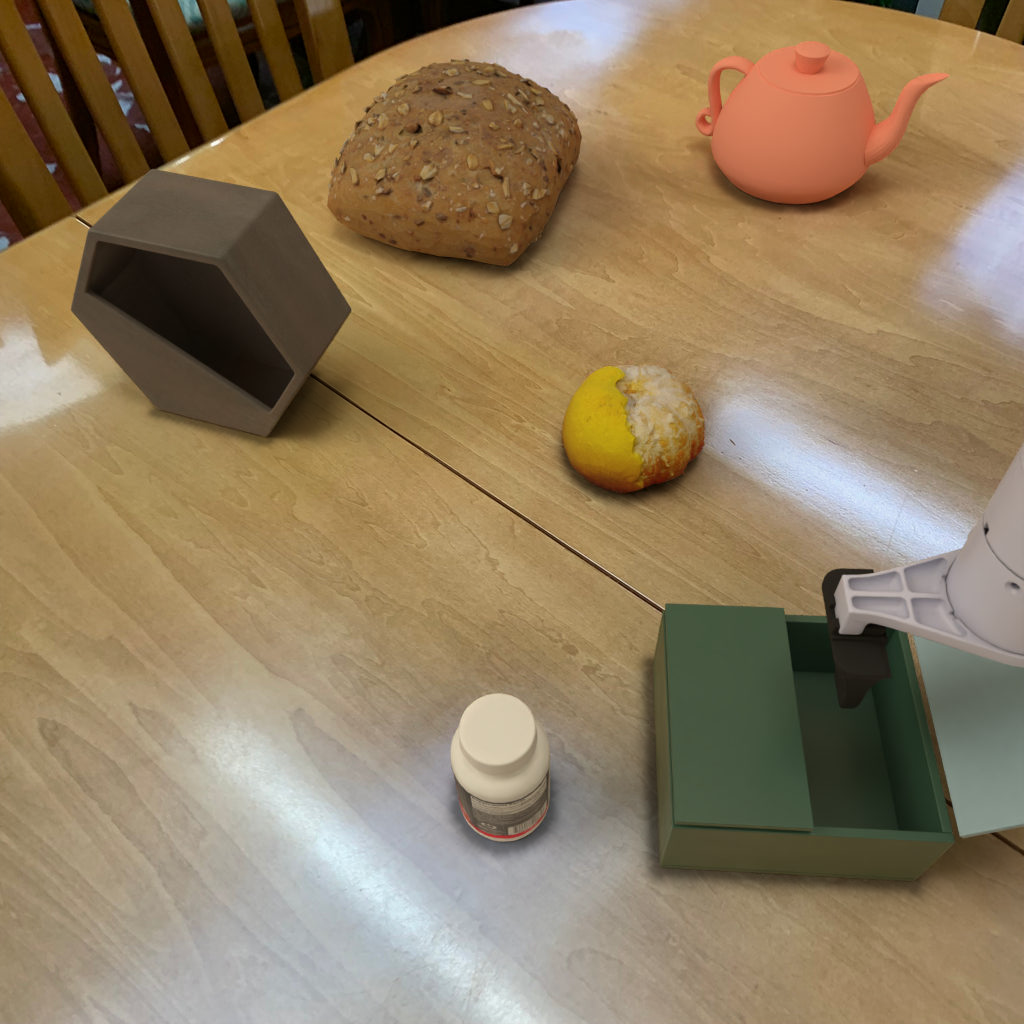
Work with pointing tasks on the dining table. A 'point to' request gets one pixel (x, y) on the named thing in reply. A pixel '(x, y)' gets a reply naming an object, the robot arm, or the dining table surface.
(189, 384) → the planter
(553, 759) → the dining table surface
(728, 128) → the teapot
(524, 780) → the pill bottle
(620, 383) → the fruit
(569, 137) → the bread
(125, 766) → the dining table surface
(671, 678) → the seed box
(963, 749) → the hatch
